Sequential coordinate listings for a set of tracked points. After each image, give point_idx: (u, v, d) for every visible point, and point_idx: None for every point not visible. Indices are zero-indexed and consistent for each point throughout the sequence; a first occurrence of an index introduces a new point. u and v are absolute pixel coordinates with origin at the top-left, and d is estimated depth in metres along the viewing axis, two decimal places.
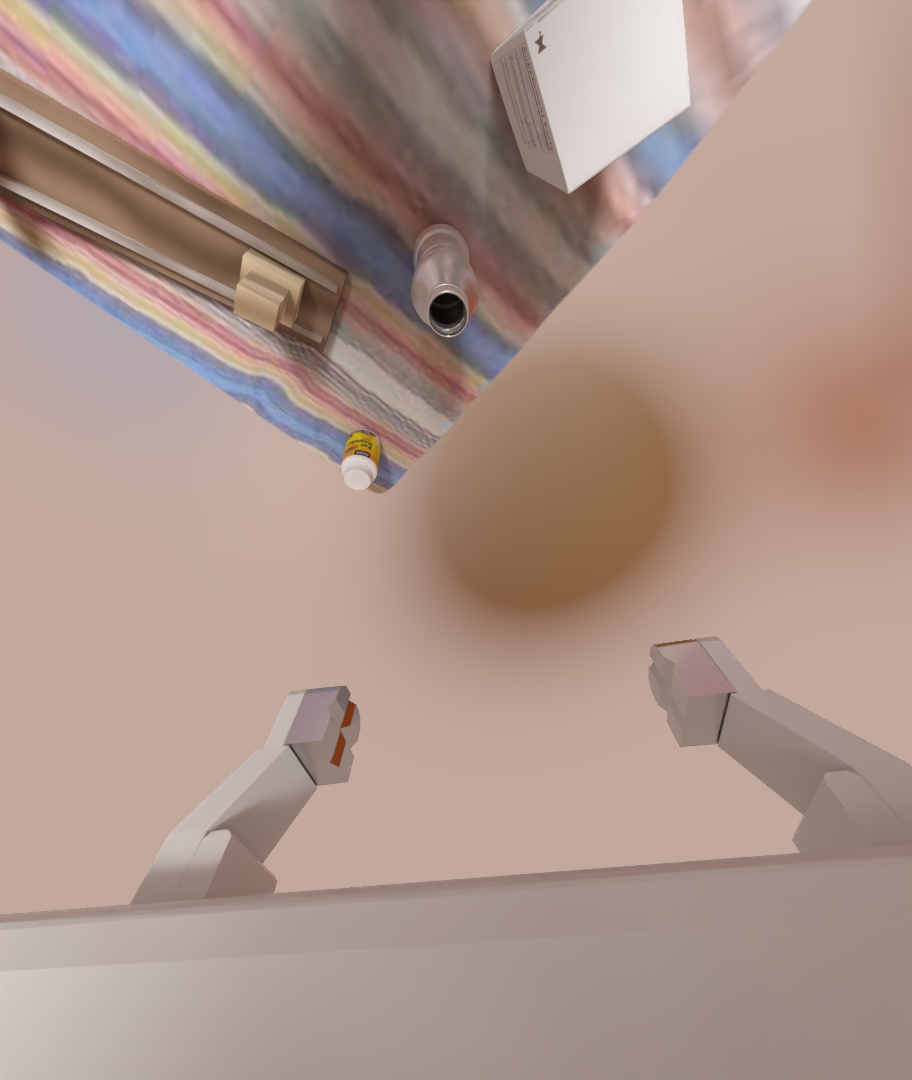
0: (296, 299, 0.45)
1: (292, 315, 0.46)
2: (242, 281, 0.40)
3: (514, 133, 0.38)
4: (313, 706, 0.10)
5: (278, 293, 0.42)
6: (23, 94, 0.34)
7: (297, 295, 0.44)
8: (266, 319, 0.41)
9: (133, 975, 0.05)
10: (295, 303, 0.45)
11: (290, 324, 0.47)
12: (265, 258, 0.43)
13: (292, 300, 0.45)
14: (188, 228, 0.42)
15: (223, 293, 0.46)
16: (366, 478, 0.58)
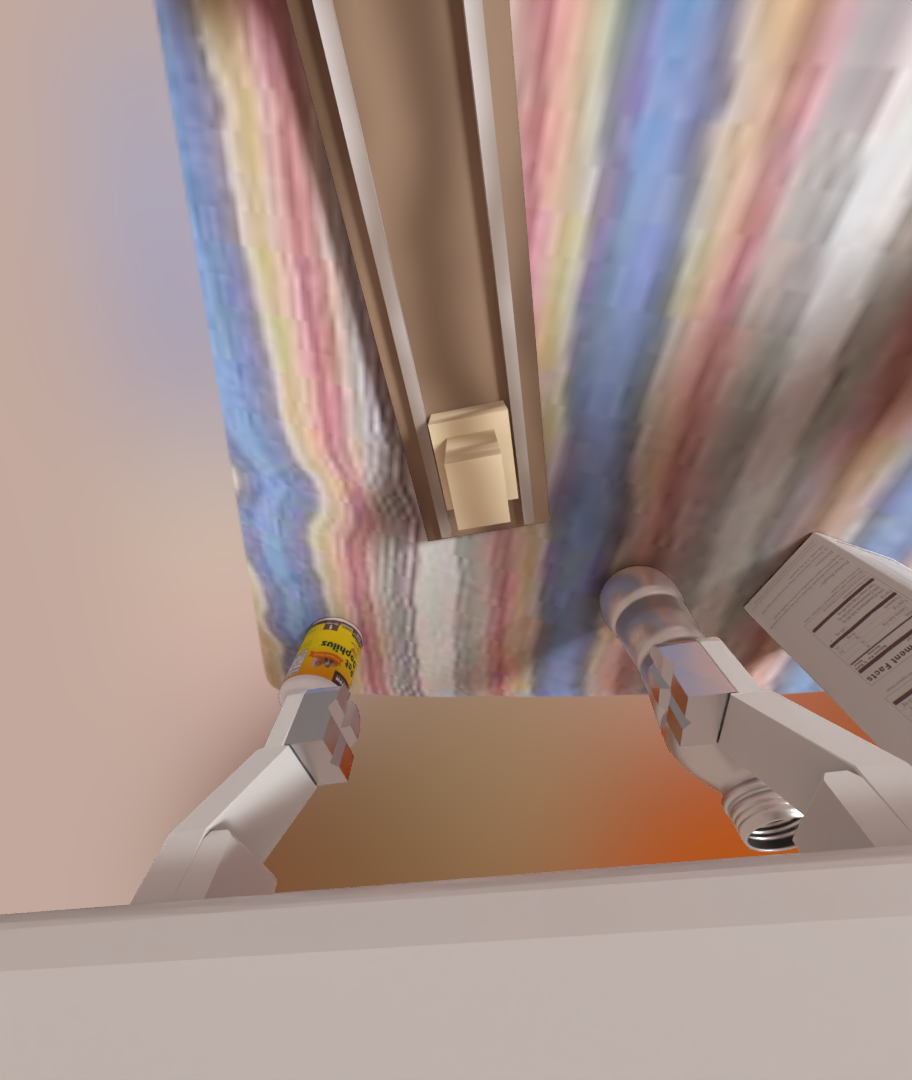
0: None
1: None
2: (499, 449, 0.21)
3: (777, 590, 0.34)
4: (313, 706, 0.10)
5: None
6: None
7: None
8: (472, 514, 0.22)
9: (133, 975, 0.05)
10: None
11: (452, 507, 0.27)
12: None
13: None
14: (465, 302, 0.24)
15: (409, 388, 0.25)
16: None
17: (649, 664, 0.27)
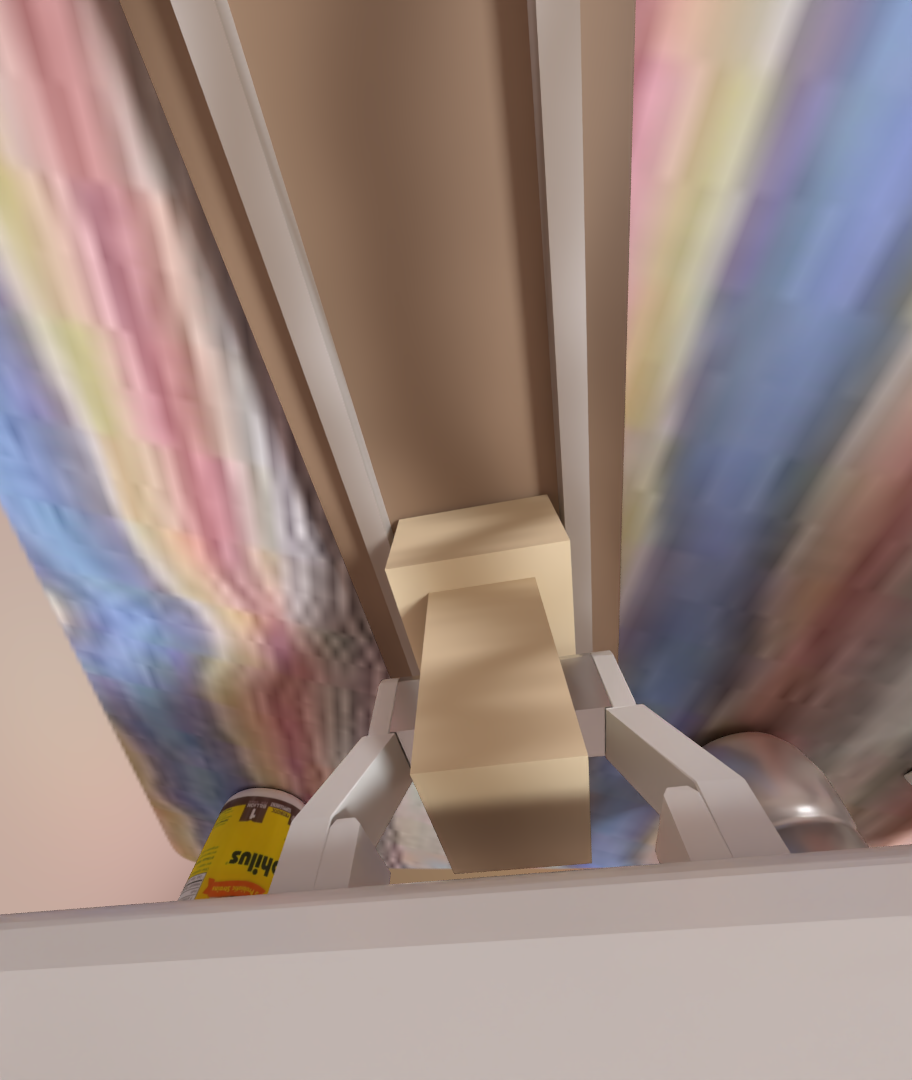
0: None
1: None
2: (570, 698, 0.07)
3: None
4: (410, 694, 0.09)
5: None
6: None
7: None
8: (493, 852, 0.08)
9: (133, 975, 0.05)
10: None
11: None
12: None
13: None
14: (469, 288, 0.10)
15: (347, 477, 0.12)
16: None
17: None
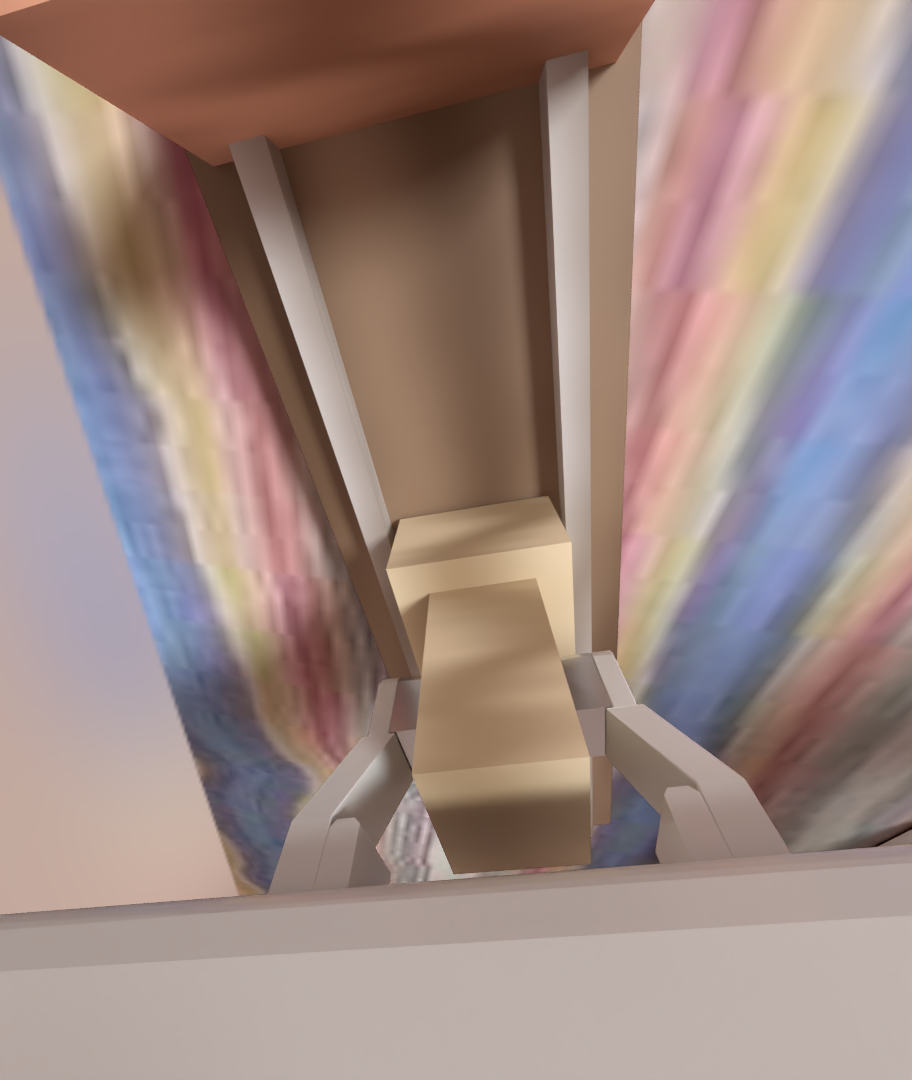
0: None
1: None
2: (571, 699, 0.07)
3: None
4: (410, 694, 0.09)
5: None
6: (613, 253, 0.10)
7: None
8: (493, 853, 0.08)
9: (133, 975, 0.05)
10: None
11: None
12: None
13: None
14: None
15: None
16: None
17: None
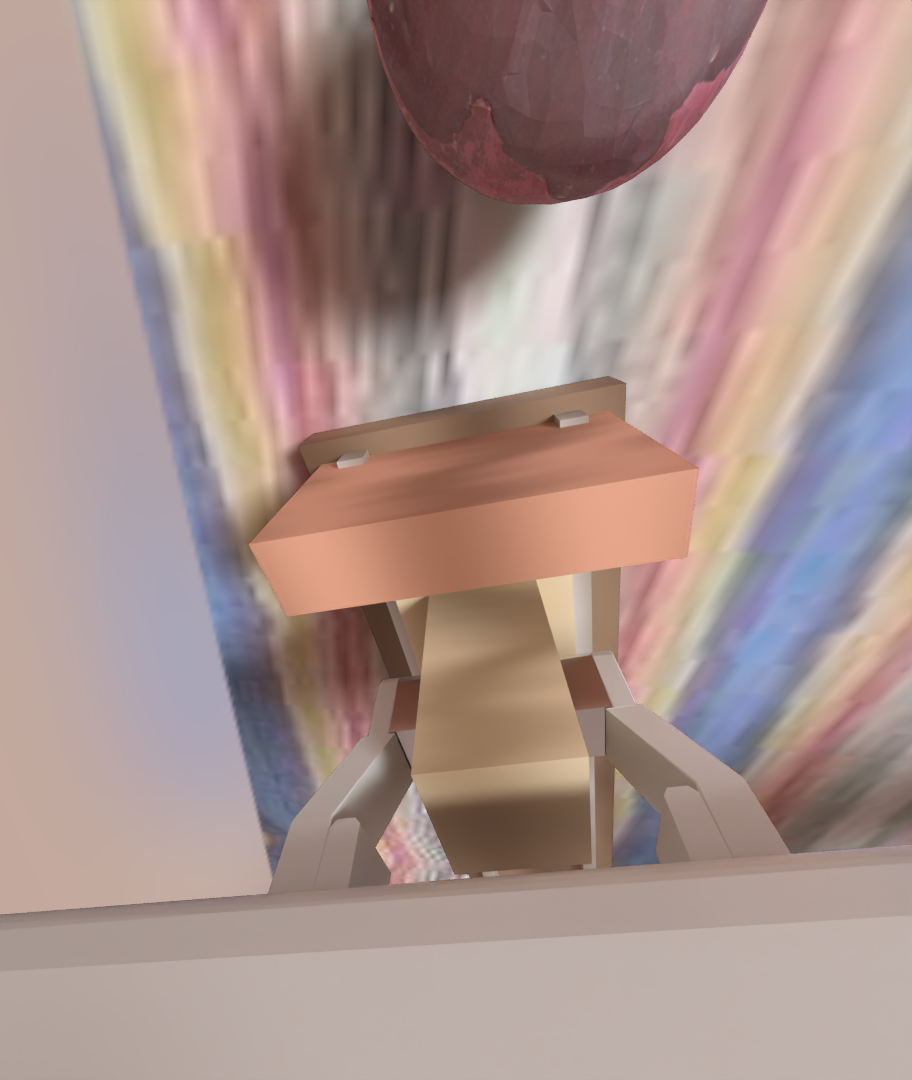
0: None
1: None
2: (570, 699, 0.07)
3: None
4: (410, 694, 0.09)
5: None
6: None
7: None
8: (493, 852, 0.08)
9: (133, 975, 0.05)
10: None
11: None
12: None
13: None
14: None
15: None
16: None
17: None
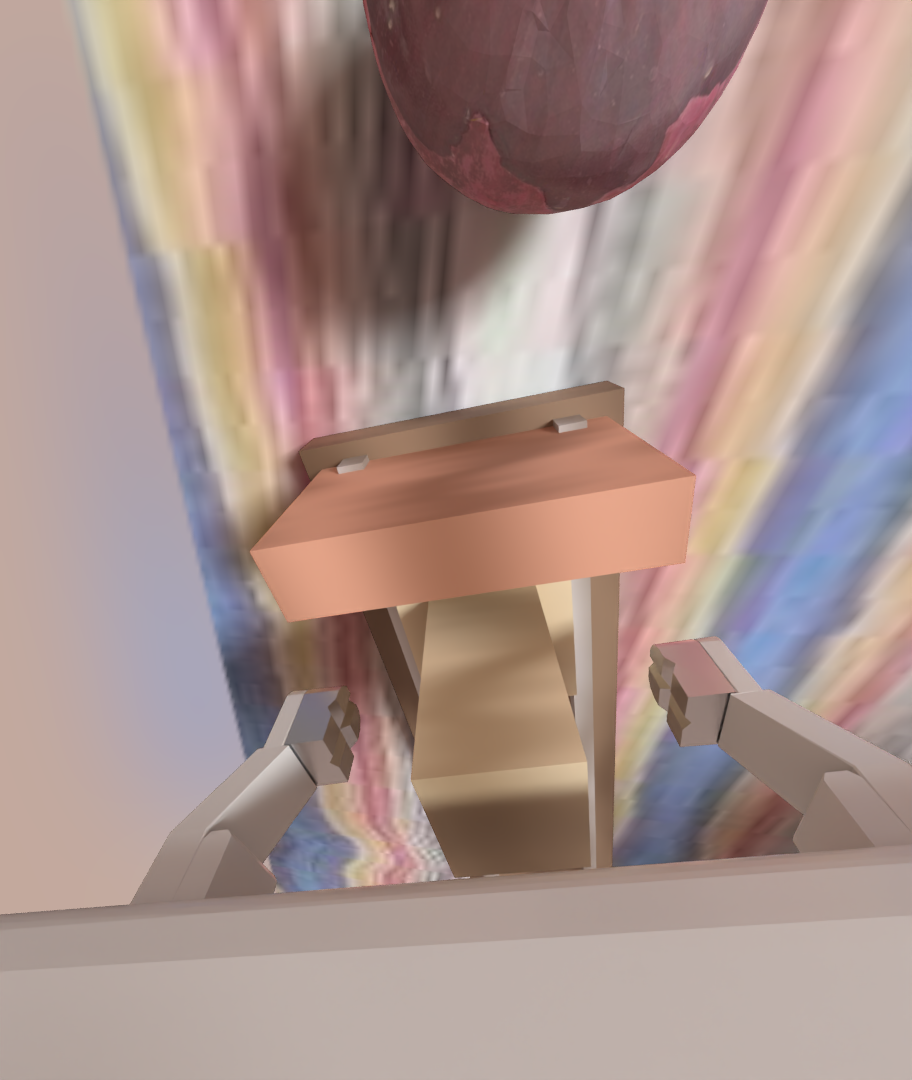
0: None
1: None
2: None
3: None
4: (313, 706, 0.10)
5: None
6: None
7: None
8: (493, 856, 0.08)
9: (133, 975, 0.05)
10: None
11: None
12: None
13: None
14: None
15: None
16: None
17: None
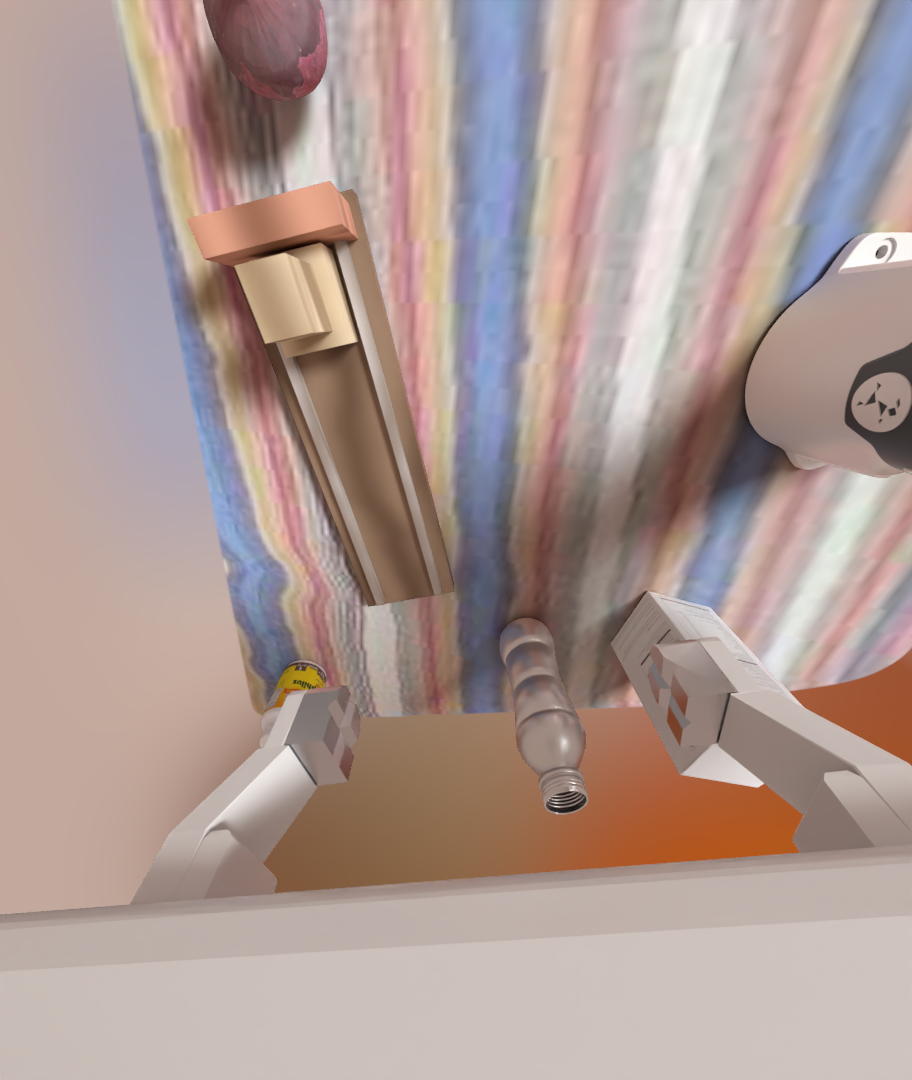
0: (329, 346, 0.28)
1: (304, 351, 0.28)
2: (293, 259, 0.23)
3: (627, 632, 0.47)
4: (313, 706, 0.10)
5: (320, 320, 0.26)
6: (372, 291, 0.29)
7: (335, 344, 0.28)
8: (274, 324, 0.23)
9: (133, 975, 0.05)
10: (323, 347, 0.28)
11: (290, 355, 0.29)
12: (337, 276, 0.28)
13: (323, 341, 0.28)
14: (377, 463, 0.36)
15: (344, 514, 0.38)
16: None
17: (516, 694, 0.39)
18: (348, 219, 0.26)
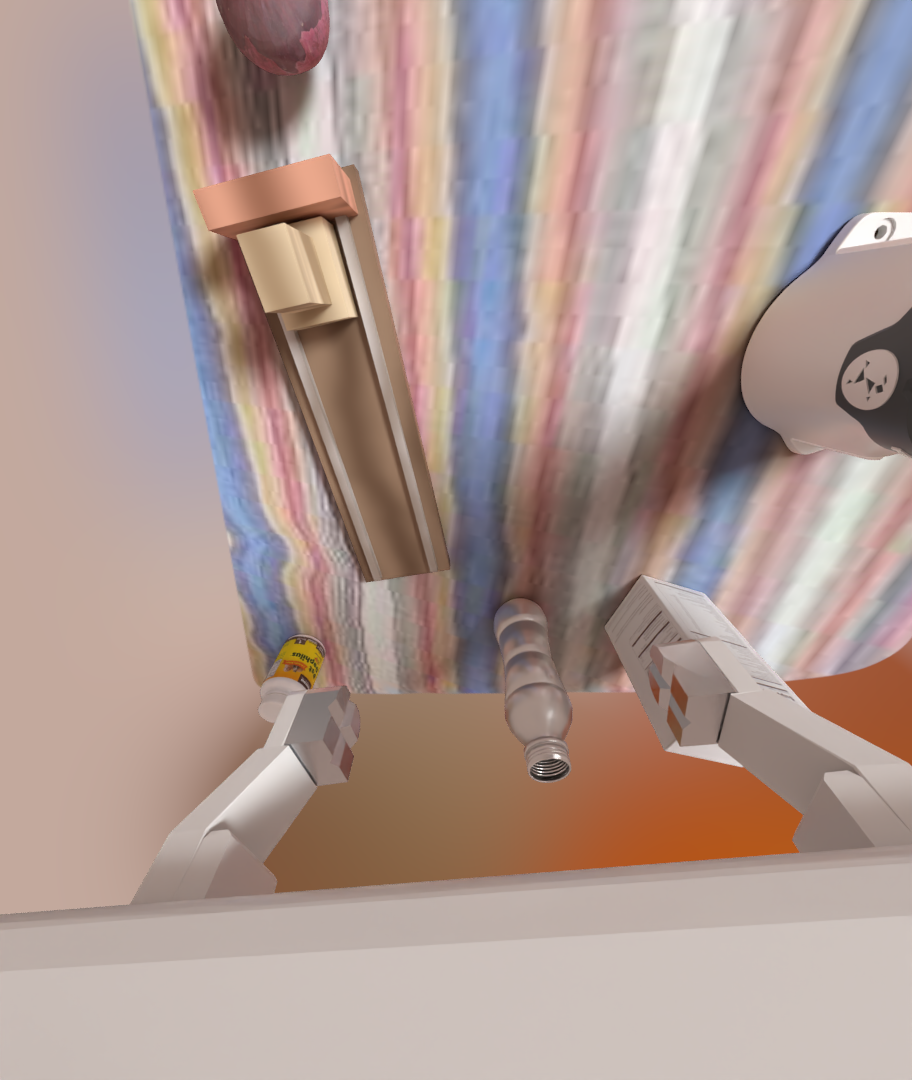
0: (329, 319, 0.29)
1: (304, 324, 0.29)
2: (293, 230, 0.23)
3: (620, 615, 0.48)
4: (313, 706, 0.10)
5: (319, 292, 0.26)
6: (371, 267, 0.30)
7: (334, 318, 0.29)
8: (274, 293, 0.24)
9: (133, 975, 0.05)
10: (323, 320, 0.29)
11: (291, 328, 0.29)
12: (338, 251, 0.29)
13: (323, 314, 0.29)
14: (375, 438, 0.37)
15: (343, 489, 0.39)
16: None
17: (506, 669, 0.40)
18: (348, 193, 0.26)
